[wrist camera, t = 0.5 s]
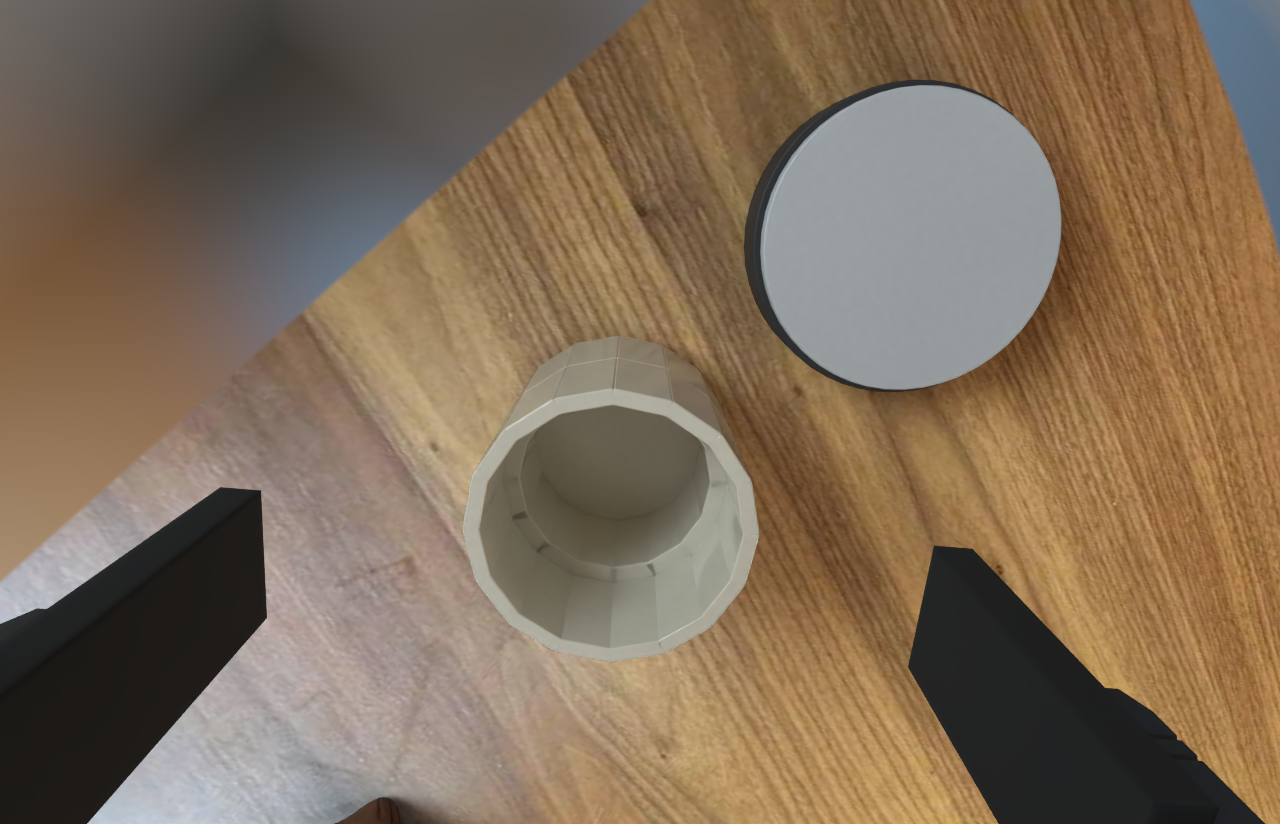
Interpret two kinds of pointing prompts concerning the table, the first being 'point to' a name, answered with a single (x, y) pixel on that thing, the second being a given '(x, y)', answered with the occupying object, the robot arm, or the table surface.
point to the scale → (903, 235)
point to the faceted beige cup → (612, 504)
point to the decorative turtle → (375, 813)
